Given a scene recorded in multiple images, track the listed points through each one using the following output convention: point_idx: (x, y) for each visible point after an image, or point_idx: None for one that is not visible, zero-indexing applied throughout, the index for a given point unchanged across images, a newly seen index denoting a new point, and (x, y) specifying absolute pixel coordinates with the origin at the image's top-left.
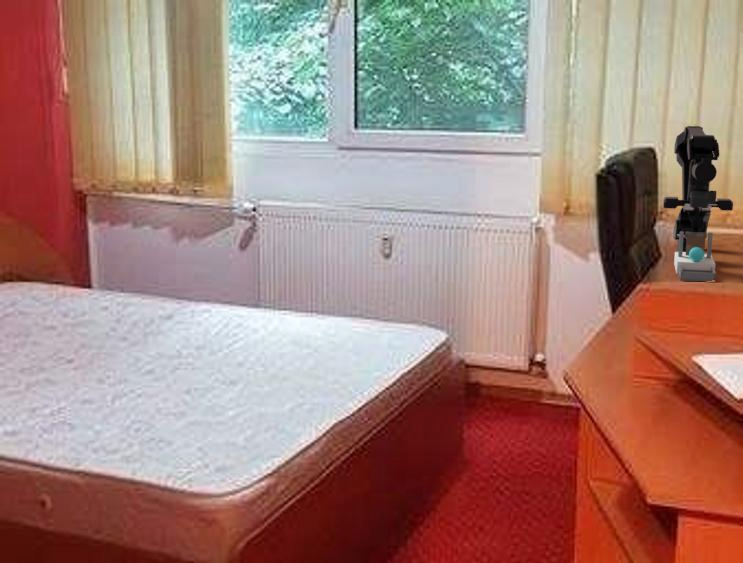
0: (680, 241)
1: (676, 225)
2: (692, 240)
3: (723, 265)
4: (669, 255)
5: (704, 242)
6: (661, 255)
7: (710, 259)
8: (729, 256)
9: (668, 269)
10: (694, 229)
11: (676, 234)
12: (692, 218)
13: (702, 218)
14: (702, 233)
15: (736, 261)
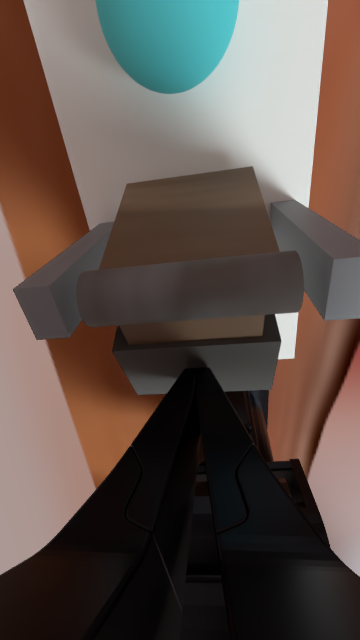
0: (326, 224)
1: (326, 535)
2: (216, 234)
3: (91, 344)
4: (282, 446)
5: (113, 237)
6: (310, 441)
7: (93, 180)
8: (107, 468)
9: (332, 146)
10: (207, 385)
11: (302, 480)
12: (254, 497)
13: (98, 502)
14: (117, 284)
15: (71, 416)
